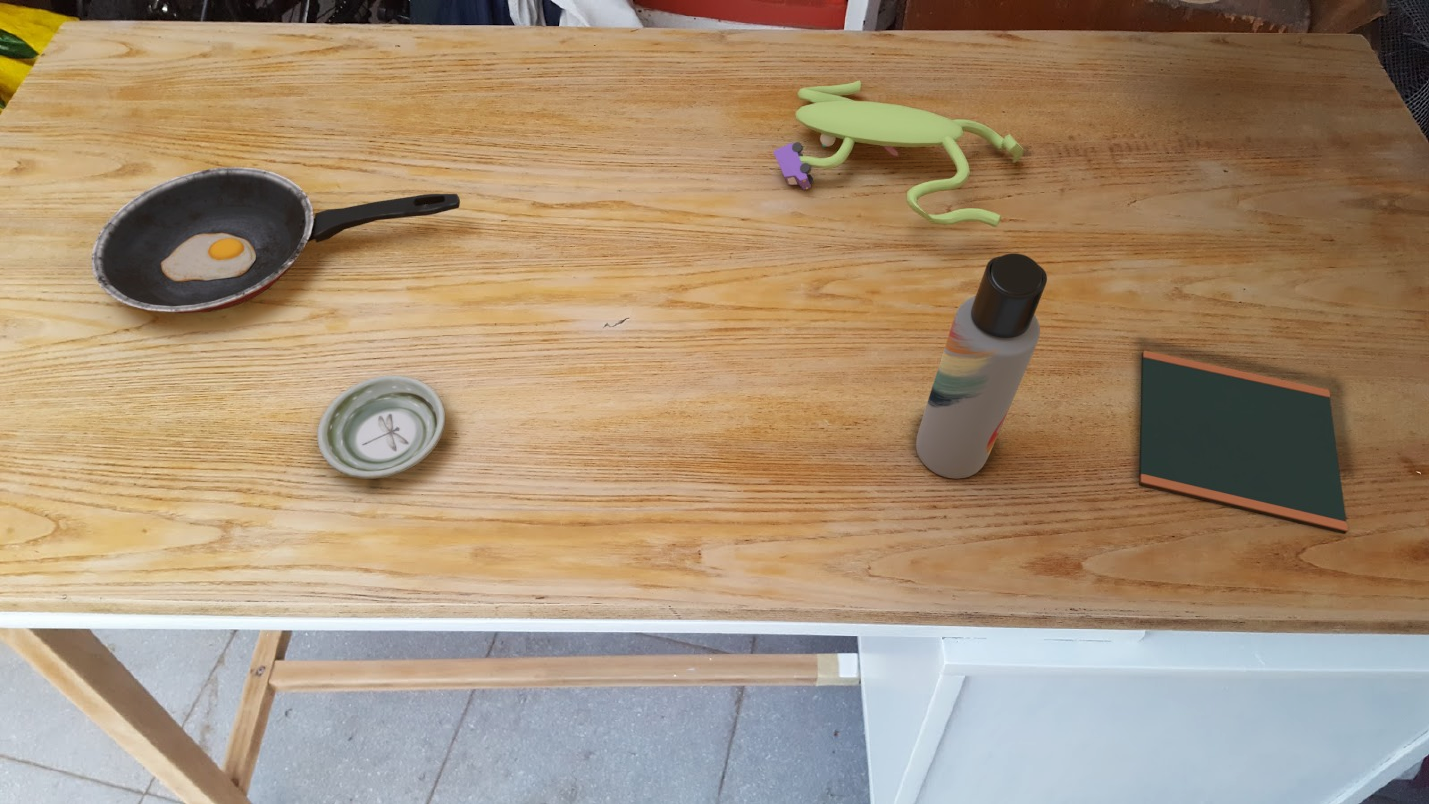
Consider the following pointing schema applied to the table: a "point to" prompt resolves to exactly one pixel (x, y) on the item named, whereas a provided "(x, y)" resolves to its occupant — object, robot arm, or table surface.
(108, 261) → the frying pan
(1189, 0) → the supplement can
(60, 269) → the table surface
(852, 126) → the figurine
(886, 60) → the table surface
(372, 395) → the saucer
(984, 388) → the lotion bottle
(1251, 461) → the mat
